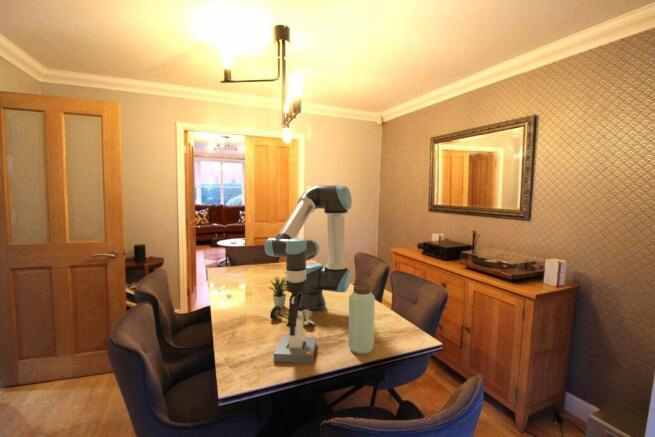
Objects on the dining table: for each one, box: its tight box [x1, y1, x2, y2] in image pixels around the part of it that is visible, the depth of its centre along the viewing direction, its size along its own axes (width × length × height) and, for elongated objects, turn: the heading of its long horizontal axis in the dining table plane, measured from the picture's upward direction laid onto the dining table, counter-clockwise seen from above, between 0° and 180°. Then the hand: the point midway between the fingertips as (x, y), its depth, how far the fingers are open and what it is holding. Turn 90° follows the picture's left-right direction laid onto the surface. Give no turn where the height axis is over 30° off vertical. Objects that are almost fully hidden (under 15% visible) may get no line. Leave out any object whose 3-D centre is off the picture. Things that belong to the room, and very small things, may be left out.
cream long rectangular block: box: [289, 312, 304, 349], centre depth 120 cm, size 4×5×16 cm
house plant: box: [267, 276, 290, 309], centre depth 166 cm, size 14×14×16 cm
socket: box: [273, 335, 317, 364], centre depth 120 cm, size 14×14×3 cm
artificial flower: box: [269, 305, 317, 326], centre depth 148 cm, size 9×22×10 cm, turn 62°
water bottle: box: [348, 284, 376, 355], centre depth 122 cm, size 10×10×25 cm
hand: (296, 334), depth 120 cm, fingers open, 13 cm apart
